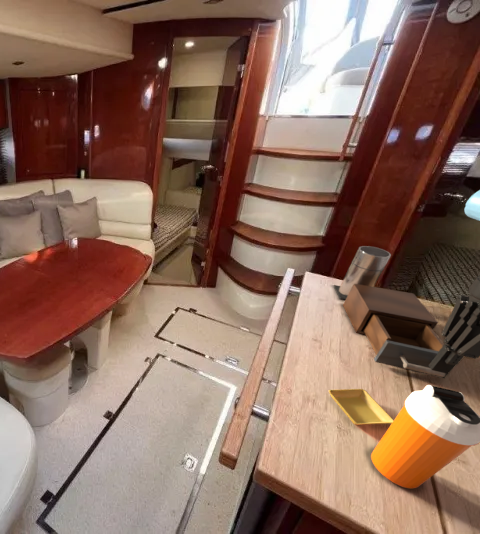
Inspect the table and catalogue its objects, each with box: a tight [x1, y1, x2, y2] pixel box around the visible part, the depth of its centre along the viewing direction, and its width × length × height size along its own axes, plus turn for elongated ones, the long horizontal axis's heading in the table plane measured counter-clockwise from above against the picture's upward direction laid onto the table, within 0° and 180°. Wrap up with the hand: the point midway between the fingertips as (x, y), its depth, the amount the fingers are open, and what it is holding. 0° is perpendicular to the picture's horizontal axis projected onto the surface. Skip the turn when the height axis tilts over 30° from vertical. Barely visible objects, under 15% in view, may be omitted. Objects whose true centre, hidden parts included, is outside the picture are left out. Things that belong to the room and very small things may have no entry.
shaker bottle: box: [370, 384, 480, 489], centre depth 54 cm, size 9×9×20 cm
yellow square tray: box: [328, 388, 395, 426], centre depth 69 cm, size 9×9×2 cm
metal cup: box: [338, 245, 392, 297], centre depth 103 cm, size 8×8×17 cm
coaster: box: [333, 284, 347, 301], centre depth 108 cm, size 9×9×1 cm
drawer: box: [364, 313, 457, 379], centre depth 80 cm, size 18×14×7 cm
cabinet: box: [342, 284, 439, 336], centre depth 92 cm, size 15×15×9 cm
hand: (437, 369), depth 69 cm, fingers closed
